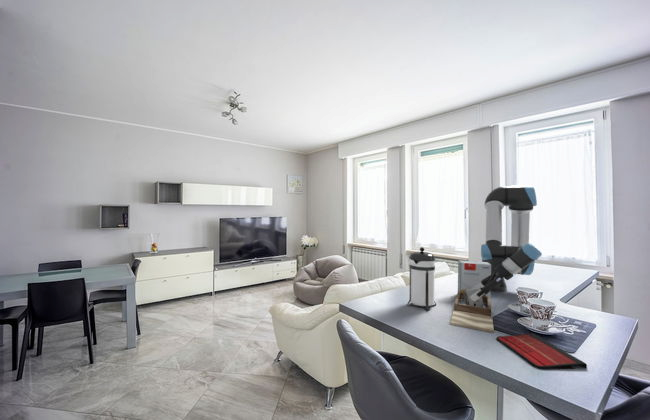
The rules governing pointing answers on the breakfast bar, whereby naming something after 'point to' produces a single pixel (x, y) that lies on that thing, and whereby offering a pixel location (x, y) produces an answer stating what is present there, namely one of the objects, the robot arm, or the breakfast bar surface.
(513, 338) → the binder
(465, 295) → the electrical switch
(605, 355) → the breakfast bar surface
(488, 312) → the holder frame
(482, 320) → the birch board
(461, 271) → the hard drive box
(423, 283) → the coffee press
